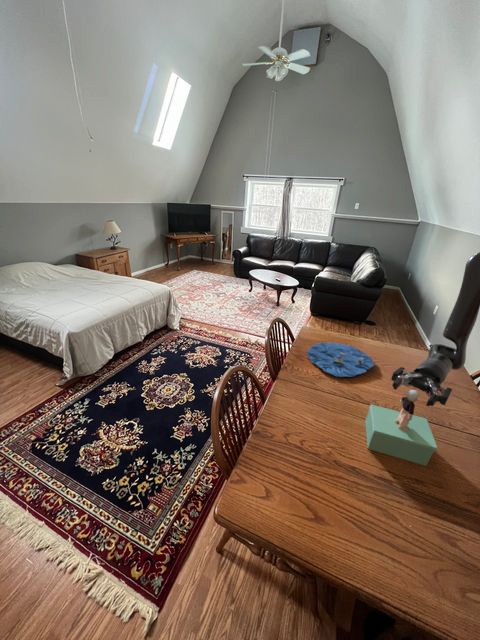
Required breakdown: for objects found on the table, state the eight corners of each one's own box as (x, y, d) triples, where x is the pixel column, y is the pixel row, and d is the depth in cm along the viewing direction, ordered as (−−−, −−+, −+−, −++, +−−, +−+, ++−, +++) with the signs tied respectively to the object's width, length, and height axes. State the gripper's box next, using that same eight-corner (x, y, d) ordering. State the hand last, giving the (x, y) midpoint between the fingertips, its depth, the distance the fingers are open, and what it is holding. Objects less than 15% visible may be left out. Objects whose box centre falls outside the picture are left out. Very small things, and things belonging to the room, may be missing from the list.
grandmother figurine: (414, 434, 77) (430, 400, 72) (401, 434, 77) (415, 400, 72) (400, 414, 84) (413, 382, 79) (388, 414, 84) (400, 381, 79)
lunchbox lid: (425, 420, 83) (426, 418, 83) (436, 450, 74) (437, 448, 73) (370, 406, 88) (370, 404, 88) (373, 432, 78) (374, 430, 78)
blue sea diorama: (300, 371, 118) (302, 361, 115) (311, 340, 143) (313, 331, 140) (374, 388, 107) (377, 377, 105) (372, 351, 132) (374, 342, 130)
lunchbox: (416, 435, 87) (424, 419, 84) (426, 466, 77) (434, 449, 74) (365, 421, 91) (370, 406, 88) (367, 448, 81) (373, 432, 78)
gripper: (409, 353, 87) (388, 371, 77) (462, 374, 77) (446, 398, 68) (402, 372, 90) (381, 391, 81) (452, 395, 81) (435, 420, 71)
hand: (411, 394), depth 74 cm, fingers open, 8 cm apart
